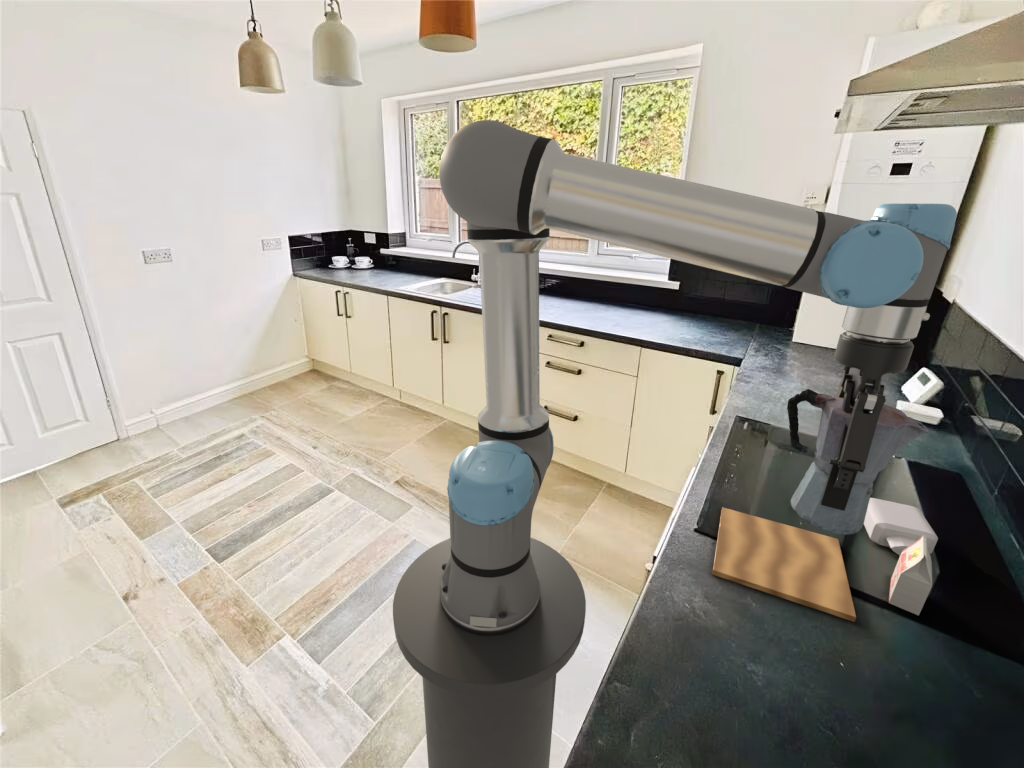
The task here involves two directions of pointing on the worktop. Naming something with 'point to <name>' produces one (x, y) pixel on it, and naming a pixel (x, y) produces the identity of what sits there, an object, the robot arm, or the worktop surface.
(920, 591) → the white printed carton
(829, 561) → the trivet
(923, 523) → the charger
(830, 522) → the moka pot
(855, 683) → the worktop surface
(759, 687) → the worktop surface
